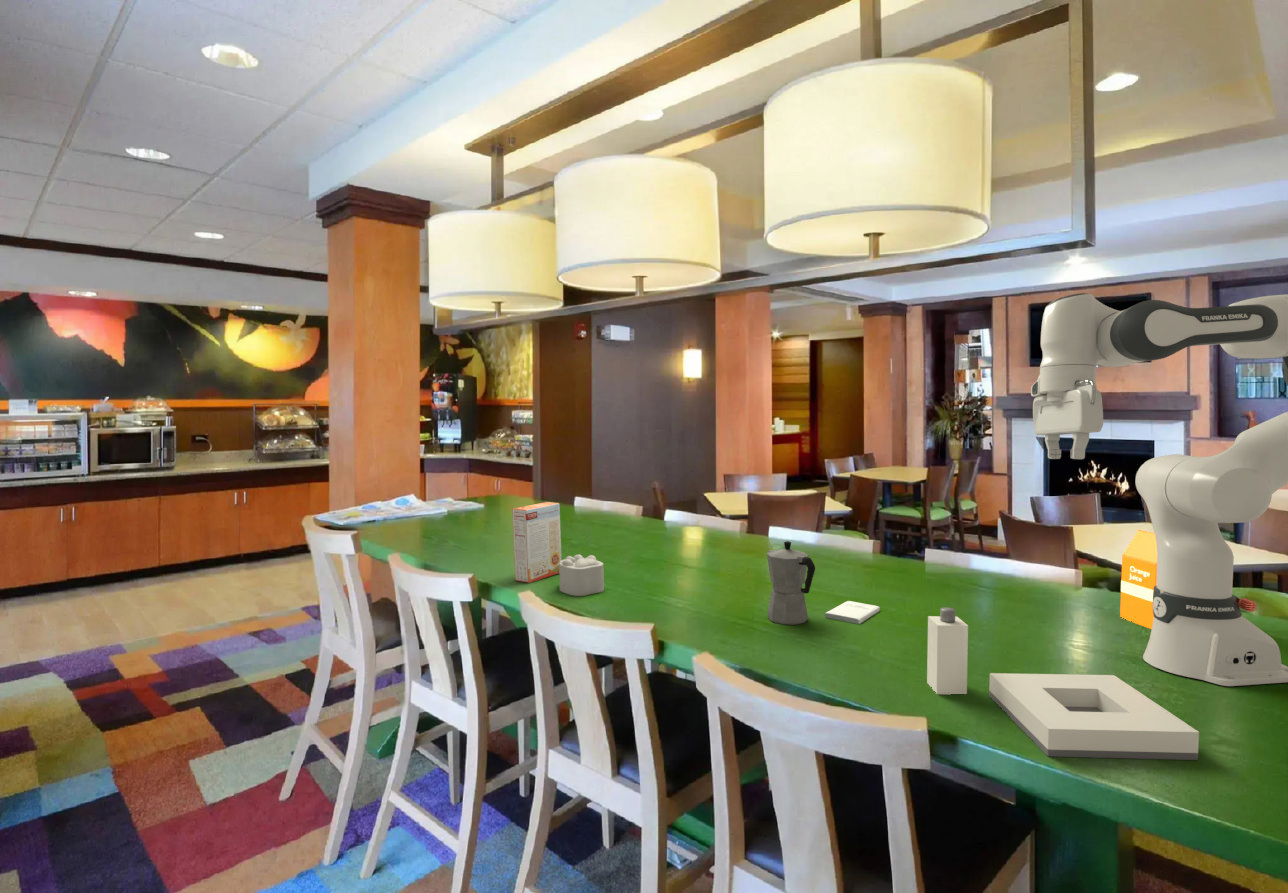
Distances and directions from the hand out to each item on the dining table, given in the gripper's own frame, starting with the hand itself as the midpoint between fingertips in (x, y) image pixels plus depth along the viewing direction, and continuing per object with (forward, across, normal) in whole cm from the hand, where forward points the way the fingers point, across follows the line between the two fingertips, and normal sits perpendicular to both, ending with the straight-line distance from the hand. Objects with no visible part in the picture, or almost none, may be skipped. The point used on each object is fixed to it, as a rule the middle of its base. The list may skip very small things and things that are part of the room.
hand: (1065, 459), depth 129 cm
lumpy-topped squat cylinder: (+38, +47, +102) cm, 118 cm away
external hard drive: (+38, +32, +32) cm, 59 cm away
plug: (+40, -9, +22) cm, 47 cm away
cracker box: (+38, +58, +116) cm, 135 cm away
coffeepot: (+38, +26, +47) cm, 66 cm away
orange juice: (+36, +32, -32) cm, 58 cm away
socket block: (+41, -21, +5) cm, 46 cm away
